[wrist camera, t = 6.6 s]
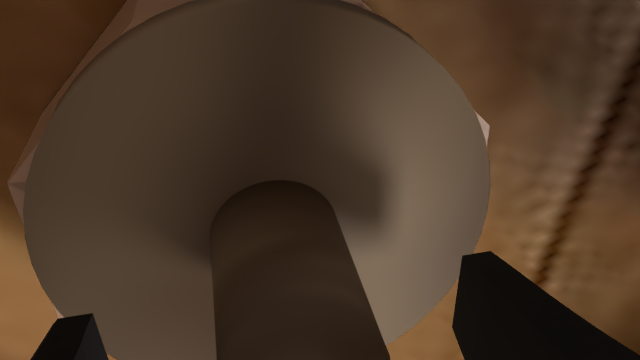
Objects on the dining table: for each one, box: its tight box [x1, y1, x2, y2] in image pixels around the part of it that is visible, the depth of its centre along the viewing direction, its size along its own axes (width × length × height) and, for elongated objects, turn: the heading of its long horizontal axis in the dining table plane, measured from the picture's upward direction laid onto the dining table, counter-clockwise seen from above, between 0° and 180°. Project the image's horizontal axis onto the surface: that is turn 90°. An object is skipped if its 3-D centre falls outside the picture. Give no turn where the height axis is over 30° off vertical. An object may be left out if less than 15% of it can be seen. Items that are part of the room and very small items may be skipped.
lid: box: [23, 0, 490, 360], centre depth 11 cm, size 10×10×5 cm
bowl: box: [7, 0, 490, 318], centre depth 15 cm, size 11×11×4 cm
